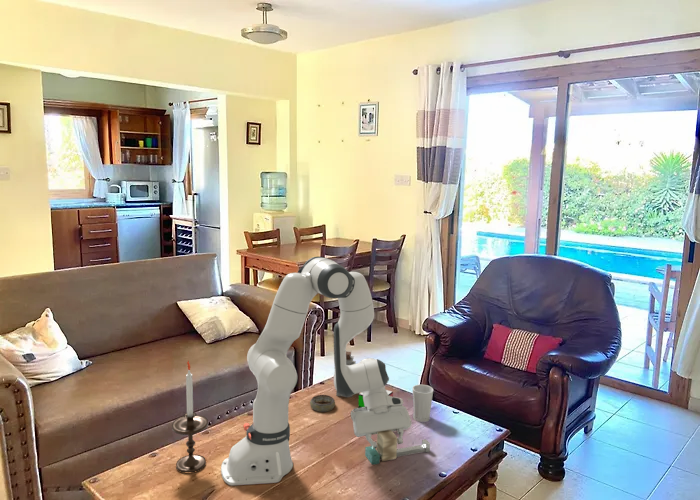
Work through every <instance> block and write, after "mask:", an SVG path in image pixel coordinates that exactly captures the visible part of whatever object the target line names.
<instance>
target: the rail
mask: <svg viewBox="0 0 700 500" xmlns="http://www.w3.org/2000/svg"><path fill="white" fill-rule="evenodd" d="M430 451H431V443H430V442H429V441H428V440H427V438H425V439H422V440H421V444H419V445H418V444H417V445H413V446H408V447H401V448H397V453H396V458H398V457H402V456H408V455H413V454H419V453H424V452H425V453H430ZM364 453H365V454H364V456H365V457H366V458H367V460H368V462H369V463H370V464H371V465H372V466H373V465H374V466H375V465H379V464H380V463H381V462H380V461H382V460H381V454H380V453H379V452H377V448H373V449H372V448H371V445H369V446H365V452H364Z"/></svg>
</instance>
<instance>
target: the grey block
mask: <svg viewBox="0 0 700 500" xmlns="http://www.w3.org/2000/svg"><path fill="white" fill-rule="evenodd" d="M354 357H355V356H353V355H352V352H351V351H346V365H353V364H357V361H356V360H354ZM336 397H344V398H346V397H345V396H342V395H340V394H339V393H337V391H336ZM353 397H354V395H351V396H348V397H347V398H353Z"/></svg>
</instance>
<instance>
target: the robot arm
mask: <svg viewBox="0 0 700 500" xmlns="http://www.w3.org/2000/svg"><path fill="white" fill-rule="evenodd" d="M368 284H369V283H368V282H367V280H366V278H365V276H364V275H363V274H362V273H360V272H358V271H348V270H347V268H345V267H344V266H343V265H341V264H339V263H337V262H336V261H334V260H333V259H330V258H326V257H325V256H312V257H311V258H309V259H307V260H306V261H305V263H304V264H303V265H302V267H300V268H299V270H297V272H291V273H287V274H286V275H285V276H284V277H283V280H282V281H281V283H280V285H279V287H278V289H277V291H276V294H275V296H274V299H273V301H272V305H271V308H270V310H269V314H268V317H267V321H266V324H265V325H264V328H263V330H262V331H261V333H260V335H259V337H258V338H257V341H256V342H255V343H254V344H252V345H251V346H250V348H249V349H248V351H247V355H246V360H247V364H248V368H249V370H250V371H251V373H252V374H253V375H254V377H255V378H256V382H257V393H256V396H255V398H254V400H253V403H252V424H251V425H250V423H248V422H244V424H243V426H242V427H243V428H244V431H245V432H246V435H245V437H243V438H242V439H240V440H239V441H238V442H237V443H236V444H234V445H233V446H232V447H230V451H229V455H228V457H227V458H224V460H223V461H222V463H221V465H220V466H221V467H220V473H221V478H222V479H223V481H224V483H226V484H227V485H228V486H243V485H244V486H245V485H259V484H273V483H274V484H275V483H279V482H280V481H281V480H282V478H283V477H284V476H285V475H287V474H289V473H290V472H291V470H292V469H293V465H294V462H293V460H292V454H291V451H290V450H291V449H290V436H291V428H290V427H291V426H290V423H289V405H290V404H289V403H290V396H291V393H292V391H293V390H294V388H295V387H296V385H297V382H298V373H297V370H296V367H295V365H294V364H293V363H294V362H292V361H291V359H290V358H288V357H287V355H288V351H289V349H290V347H291V346H292V344H293V343H294V341H296V340H297V339H298V338H300V337H301V333H302V330H303V328H304V324H305V321H306V318H307V315H308V312H309V308H310V304H311V302H312V301H313V299H314V298H315V296H316V295H318V294H319V295H322V296H324V297H326V298H329V299H337V300H338V307H339V310H340V311H339V313H340V314H339V315H340V316H339V318H338V321H337V322H336V323H335V324H334V327H333V361H334V372H333V385H334V388H335V391H336V392H337V393H339V394H340V395H342V396H341V397H343V396H345V397H344V398H349V397H348V396H351V395H353V396H354V395H356V394H360V393H361V392H363V401H364V405H365V407H361V408H358V407H355V408H353V409H352V410H351V411H350V419H351V420H352V426H353V433H354V436H355V437H358V438H359V437H360V438H361V437H365V440H366V441H368V443H369V444H370V446H371V448H372V449H373V448H375V449H377V440H376V441H374V440H373V439H372V437H373V435H377V432H381V431H387V430H392V432H397V434H399V435H398V437H397V445H403V443H404V440H403V435H404V432H405V431H404V430H408V429H409V428H410V427H411V426H412V420H411V416H410V413H409V411H408V408H407V407H406V406H405V405H404V399H403V398H400V397H397V396H393V397H392V396H388V393H387V391H386V390H387V389H386V385H387V384H388V383H389V380H390V377H389V375H388V373H387V369H386V367H387V366H386V363H385V362H383V361H382V360H380V359H376V358H371V357H368V358H364V359H362V360H360V361H359V362H356V364H353V365H346V352H347V351H346V350H347V345H348V343H350V341H351V340H353V339H354V338H355V337H357V336H358V335H360V334H361V333H363V332H364V331H366V330H367V329H368V328H369V327H370V325H371V324H372V322H373V321H374V318H375V310H374V309H375V308H374V303H373V297H372V294H371V290H370V287H369V285H368Z"/></svg>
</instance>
